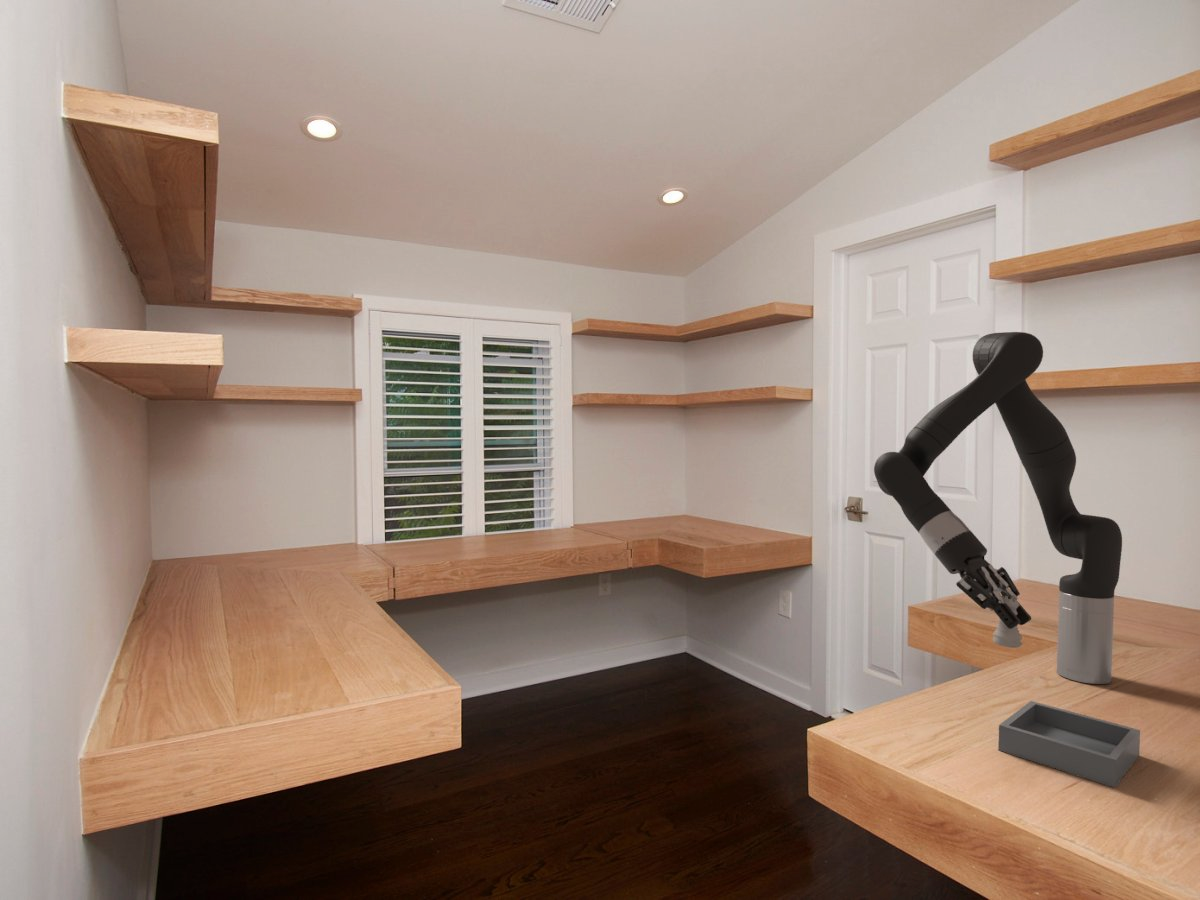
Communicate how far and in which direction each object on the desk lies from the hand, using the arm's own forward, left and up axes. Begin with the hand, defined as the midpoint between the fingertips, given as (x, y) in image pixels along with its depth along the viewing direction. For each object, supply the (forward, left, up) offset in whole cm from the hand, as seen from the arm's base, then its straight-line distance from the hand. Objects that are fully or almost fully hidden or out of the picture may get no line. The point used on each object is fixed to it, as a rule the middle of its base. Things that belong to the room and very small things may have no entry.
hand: (1020, 623), depth 116 cm
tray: (+4, +8, -18) cm, 20 cm away
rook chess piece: (0, -2, -4) cm, 5 cm away
